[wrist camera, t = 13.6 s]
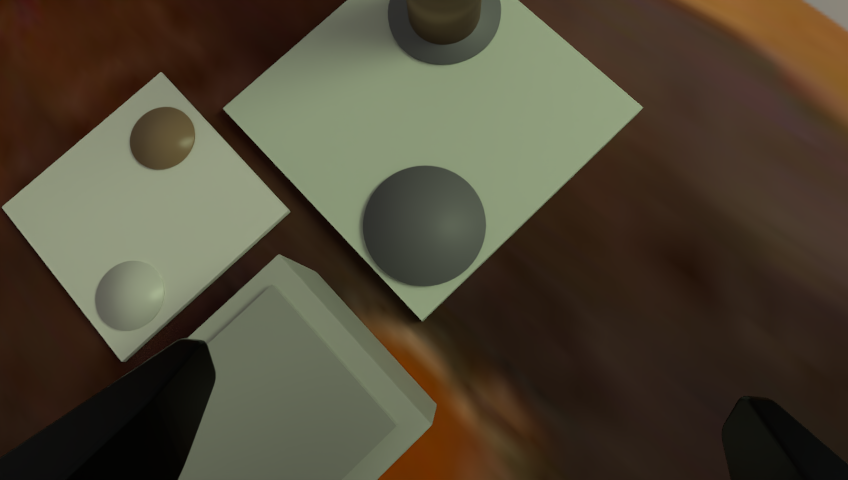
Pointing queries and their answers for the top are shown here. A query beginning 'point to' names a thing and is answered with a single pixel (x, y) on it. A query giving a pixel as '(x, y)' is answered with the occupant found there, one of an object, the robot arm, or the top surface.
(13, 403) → the top surface
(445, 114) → the board
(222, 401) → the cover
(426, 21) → the pin
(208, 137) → the card
